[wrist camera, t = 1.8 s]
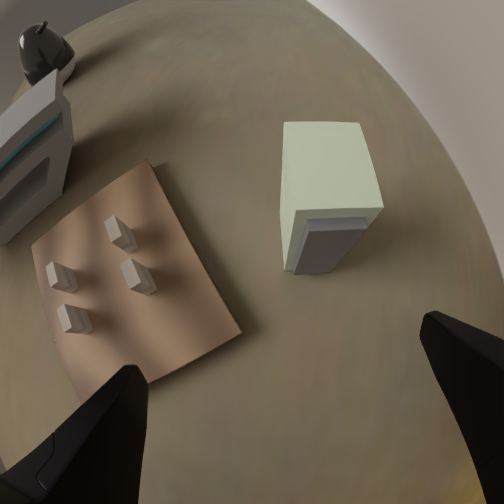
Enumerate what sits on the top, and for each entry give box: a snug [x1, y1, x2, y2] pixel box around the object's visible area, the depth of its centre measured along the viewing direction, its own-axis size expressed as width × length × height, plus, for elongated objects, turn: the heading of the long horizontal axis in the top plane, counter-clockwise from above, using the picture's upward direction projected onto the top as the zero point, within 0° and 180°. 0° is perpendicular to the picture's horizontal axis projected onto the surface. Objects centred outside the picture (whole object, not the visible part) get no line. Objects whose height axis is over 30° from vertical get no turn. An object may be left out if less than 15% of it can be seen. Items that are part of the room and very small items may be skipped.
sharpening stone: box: [0, 68, 74, 246], centre depth 22 cm, size 25×8×11 cm, turn 120°
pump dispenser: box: [18, 21, 75, 87], centre depth 28 cm, size 10×10×15 cm
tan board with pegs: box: [31, 160, 243, 405], centre depth 20 cm, size 16×18×4 cm
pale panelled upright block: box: [280, 122, 384, 275], centre depth 17 cm, size 4×6×11 cm
